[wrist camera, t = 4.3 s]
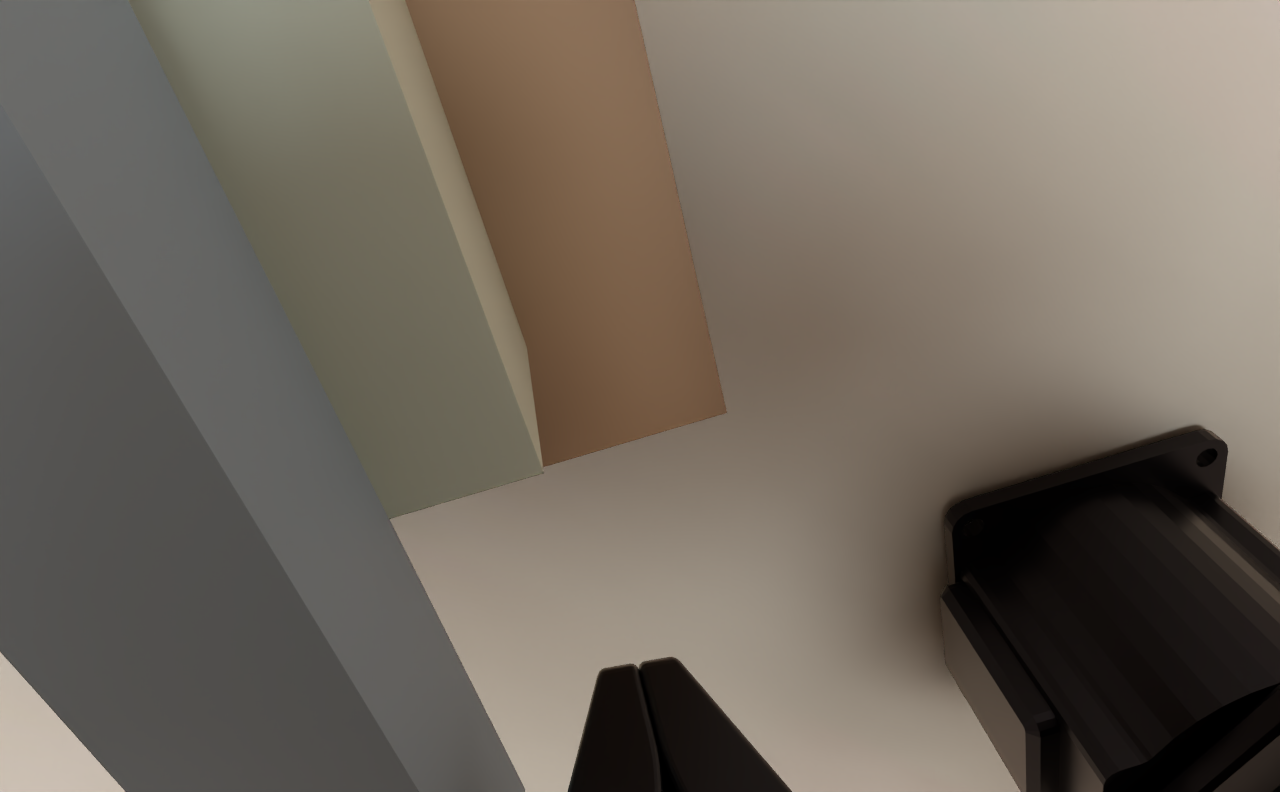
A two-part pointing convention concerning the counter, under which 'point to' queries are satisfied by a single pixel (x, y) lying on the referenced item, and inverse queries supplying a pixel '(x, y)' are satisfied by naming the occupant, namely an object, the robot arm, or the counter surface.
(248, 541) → the latch bar
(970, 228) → the counter surface
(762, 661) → the counter surface
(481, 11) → the brown box
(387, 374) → the pale green carton
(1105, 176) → the counter surface
